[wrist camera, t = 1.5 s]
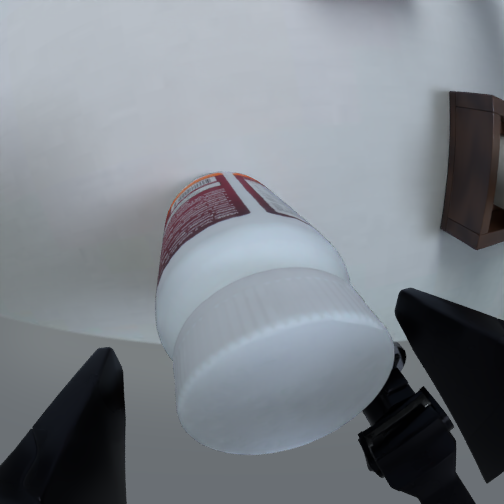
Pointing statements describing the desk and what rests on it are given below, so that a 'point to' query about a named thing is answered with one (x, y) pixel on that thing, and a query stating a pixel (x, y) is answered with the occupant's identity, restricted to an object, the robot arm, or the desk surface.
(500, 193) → the pill bottle
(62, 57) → the desk surface
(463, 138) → the rack
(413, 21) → the desk surface
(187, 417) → the pill bottle
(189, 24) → the desk surface
